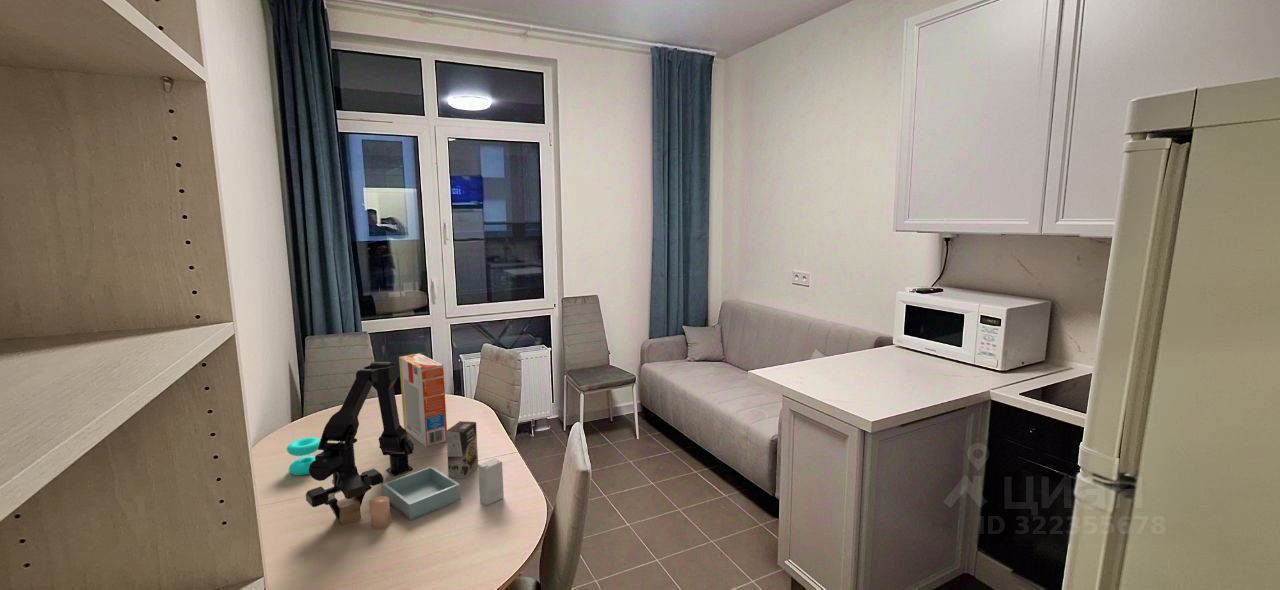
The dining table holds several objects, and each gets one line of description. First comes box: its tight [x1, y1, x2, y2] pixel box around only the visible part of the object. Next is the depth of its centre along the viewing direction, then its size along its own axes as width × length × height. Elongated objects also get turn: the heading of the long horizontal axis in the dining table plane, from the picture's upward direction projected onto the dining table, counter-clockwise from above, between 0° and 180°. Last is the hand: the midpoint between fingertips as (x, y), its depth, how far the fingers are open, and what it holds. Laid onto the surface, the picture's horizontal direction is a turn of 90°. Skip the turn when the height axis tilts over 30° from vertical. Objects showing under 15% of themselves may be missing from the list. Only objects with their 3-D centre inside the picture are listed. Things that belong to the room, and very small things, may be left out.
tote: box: [382, 466, 462, 522], centre depth 165 cm, size 18×16×5 cm
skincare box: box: [477, 457, 505, 506], centre depth 164 cm, size 6×4×12 cm
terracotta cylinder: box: [368, 495, 392, 530], centre depth 152 cm, size 5×5×7 cm
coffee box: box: [446, 421, 479, 479], centre depth 182 cm, size 9×6×16 cm
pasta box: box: [398, 352, 448, 448], centre depth 211 cm, size 23×8×30 cm, turn 43°
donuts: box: [286, 436, 321, 476], centre depth 184 cm, size 10×10×10 cm
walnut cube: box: [335, 497, 362, 526], centre depth 155 cm, size 5×5×5 cm
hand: (348, 514), depth 156 cm, fingers closed on walnut cube, 5 cm apart
